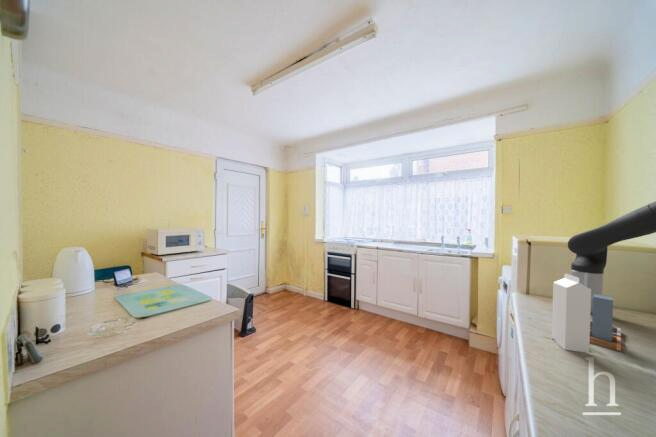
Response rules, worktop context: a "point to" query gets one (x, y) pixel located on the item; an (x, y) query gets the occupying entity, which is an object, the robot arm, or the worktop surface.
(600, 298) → the post
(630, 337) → the worktop surface
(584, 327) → the milk
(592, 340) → the socket board
